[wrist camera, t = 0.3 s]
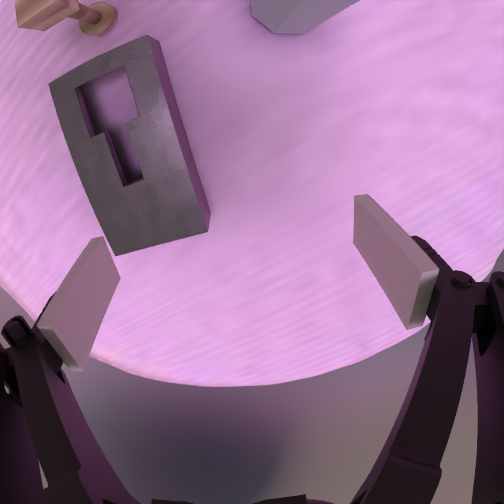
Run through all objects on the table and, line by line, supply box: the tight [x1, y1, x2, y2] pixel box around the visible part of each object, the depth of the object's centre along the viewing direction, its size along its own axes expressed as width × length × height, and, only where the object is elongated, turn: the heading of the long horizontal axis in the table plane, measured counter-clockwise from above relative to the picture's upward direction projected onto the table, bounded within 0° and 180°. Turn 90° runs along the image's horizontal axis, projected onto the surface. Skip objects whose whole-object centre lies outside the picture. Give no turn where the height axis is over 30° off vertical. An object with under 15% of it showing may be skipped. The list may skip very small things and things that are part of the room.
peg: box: [15, 0, 118, 36], centre depth 20 cm, size 5×5×17 cm
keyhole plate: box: [49, 35, 211, 256], centre depth 35 cm, size 26×14×6 cm, turn 13°
